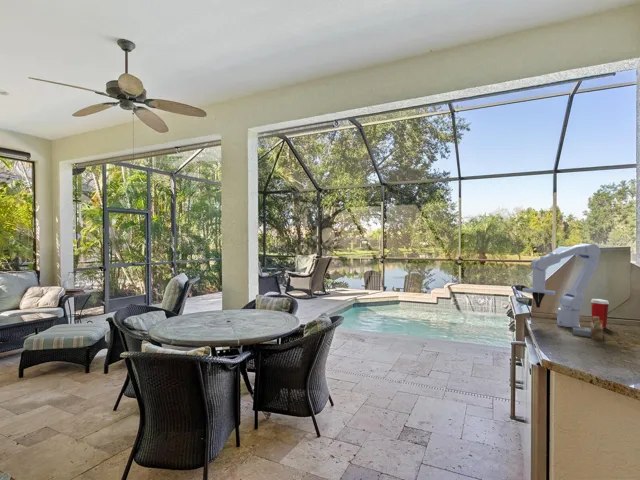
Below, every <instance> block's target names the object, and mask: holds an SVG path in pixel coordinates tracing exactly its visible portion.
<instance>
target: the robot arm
mask: <svg viewBox="0 0 640 480" xmlns="http://www.w3.org/2000/svg"><path fill="white" fill-rule="evenodd" d="M601 253H602V250H601V248H600V247H599V245H598V244H595V243H578V244H575V245H573V246H571V247H569V248H567V249H564V250H562V251H560V252H558V253H557V252H553V251H551V252H548V254H546V255H542V256H541V255H540V258H538V257H537V258H534V259H532V261H531V263H530V267H531V268H532V287H531V288H526V287H524V288H523V287H522V293H531V294H532V297H533V299H534V302H535V306H536V309H537V308H538V309H539V308H541V304H542V301H543V299H544V297H545V295H549V296H550V295H551V296H556V291H555V290H548V289H546V271H547V269H548V268H549V267H551V266H554V265H556V264H559V263H560V262H562V260H563V259H566V258H569V257H571V256H574V255H578V256H579V258H581V260H582V261H583V265H582V267H581V268H580V270H579V273H578V275H577V276H576V278H575V280H574V282H573V283H572V286H571V287H570V289H569V290H567V291H565V293H564V294H563V295H562V296H560V298H559V304H560V305H561V307H558V308H557V309H558V310H557V317H556V318H557V319H556V322H557V326H559V327H566V328H567V327H568V328H571V329H573V326H576V327H581V325H580V311H581V309H582V308H583V306H584V300H585V297H584V295H583V294H584V292H585V291H586V288H587V287H588V285H589V283H590V281H591V279H592V277H593V275H594V273H595V272H596V270H597V268H598V265H599V262H600V255H601Z"/></svg>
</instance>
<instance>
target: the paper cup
mask: <svg viewBox="0 0 640 480" xmlns="http://www.w3.org/2000/svg"><path fill="white" fill-rule="evenodd" d="M590 305H591V306H590V307H591V322H593V316H596V317H599V322H601V324H602V328H603V329H607V322H608V315H609V314H608V311H609V305H610V303H609V300H607V299H602V298H591V300H590Z"/></svg>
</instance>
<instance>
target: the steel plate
mask: <svg viewBox="0 0 640 480" xmlns="http://www.w3.org/2000/svg"><path fill="white" fill-rule="evenodd" d="M572 335H573V336H578V337H584V338H591V327H590V328H588V327H583V326H582V327H581V326H580V327H576V326H573V328H572Z"/></svg>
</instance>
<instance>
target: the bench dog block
mask: <svg viewBox="0 0 640 480" xmlns="http://www.w3.org/2000/svg"><path fill="white" fill-rule="evenodd" d="M590 329H591V337H590V339H591V340H597V341H601V342H602V341H603V340H604V339H603V338H604V328H602V324H601V322H599V317H596V316H593V322H592V321H590Z"/></svg>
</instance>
